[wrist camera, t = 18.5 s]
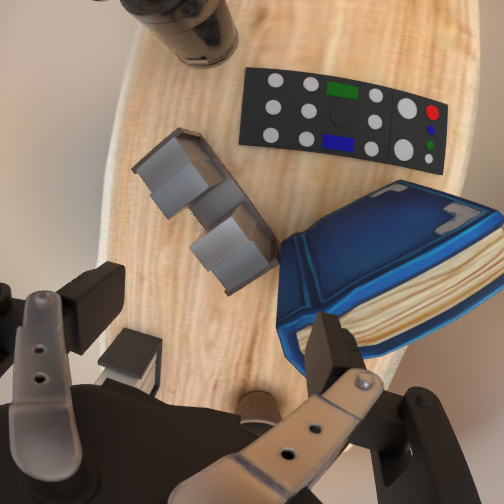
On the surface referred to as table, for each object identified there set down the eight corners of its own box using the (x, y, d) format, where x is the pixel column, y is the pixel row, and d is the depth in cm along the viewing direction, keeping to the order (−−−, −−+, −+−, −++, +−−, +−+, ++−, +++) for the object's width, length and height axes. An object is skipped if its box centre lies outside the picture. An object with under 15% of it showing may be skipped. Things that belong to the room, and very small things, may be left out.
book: (292, 281, 47) (303, 398, 23) (270, 241, 45) (263, 335, 22) (416, 219, 43) (521, 280, 19) (400, 177, 41) (510, 205, 17)
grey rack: (159, 165, 43) (123, 170, 32) (199, 133, 41) (173, 125, 30) (237, 269, 47) (225, 304, 36) (279, 241, 45) (280, 269, 34)
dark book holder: (124, 327, 52) (85, 375, 38) (162, 339, 52) (131, 392, 38) (125, 375, 56) (94, 424, 42) (159, 386, 56) (134, 439, 42)
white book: (126, 338, 52) (92, 385, 39) (157, 348, 52) (127, 399, 38) (127, 349, 53) (93, 397, 39) (156, 359, 53) (128, 410, 39)
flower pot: (301, 405, 54) (303, 443, 45) (256, 427, 57) (253, 464, 48) (262, 371, 52) (259, 410, 43) (217, 397, 55) (208, 435, 46)
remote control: (438, 174, 40) (444, 175, 38) (240, 144, 42) (238, 144, 40) (443, 105, 37) (449, 104, 35) (246, 70, 38) (245, 66, 36)
